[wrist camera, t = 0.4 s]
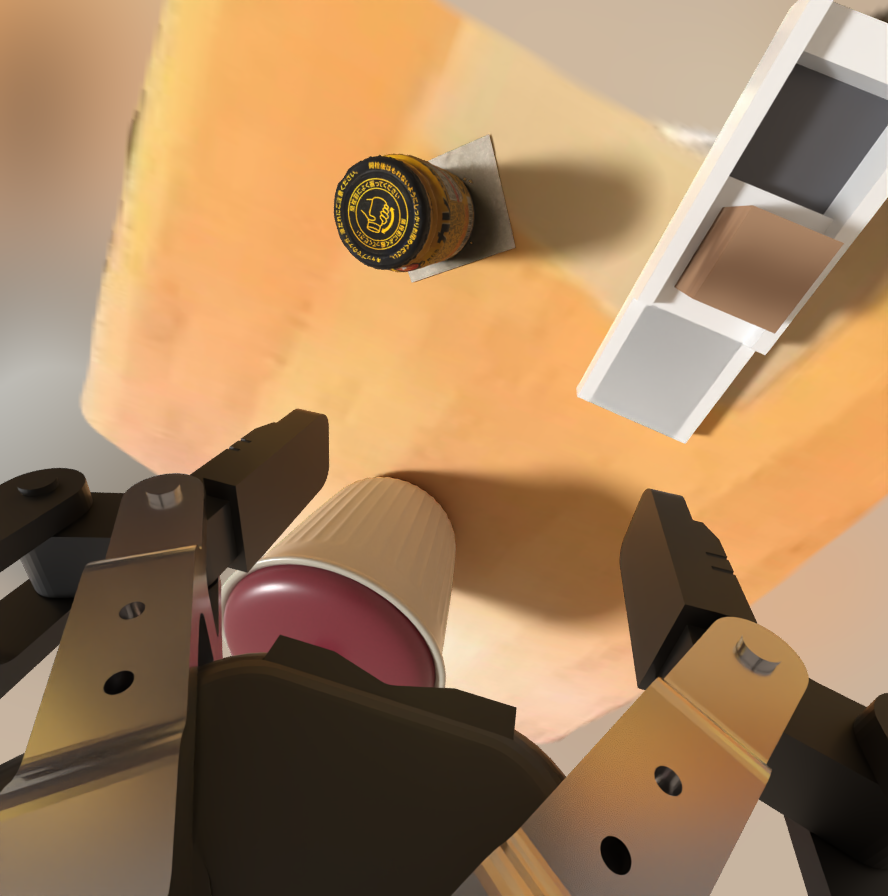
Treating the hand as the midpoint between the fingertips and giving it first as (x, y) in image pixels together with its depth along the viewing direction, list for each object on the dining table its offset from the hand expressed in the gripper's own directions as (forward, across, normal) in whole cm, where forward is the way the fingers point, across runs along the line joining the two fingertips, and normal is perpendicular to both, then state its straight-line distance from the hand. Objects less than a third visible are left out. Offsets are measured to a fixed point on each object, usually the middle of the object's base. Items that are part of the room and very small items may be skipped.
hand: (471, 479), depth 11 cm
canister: (+26, +9, +25) cm, 37 cm away
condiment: (+27, +8, -5) cm, 28 cm away
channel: (+27, -12, -4) cm, 30 cm away
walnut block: (+25, -12, -4) cm, 28 cm away
